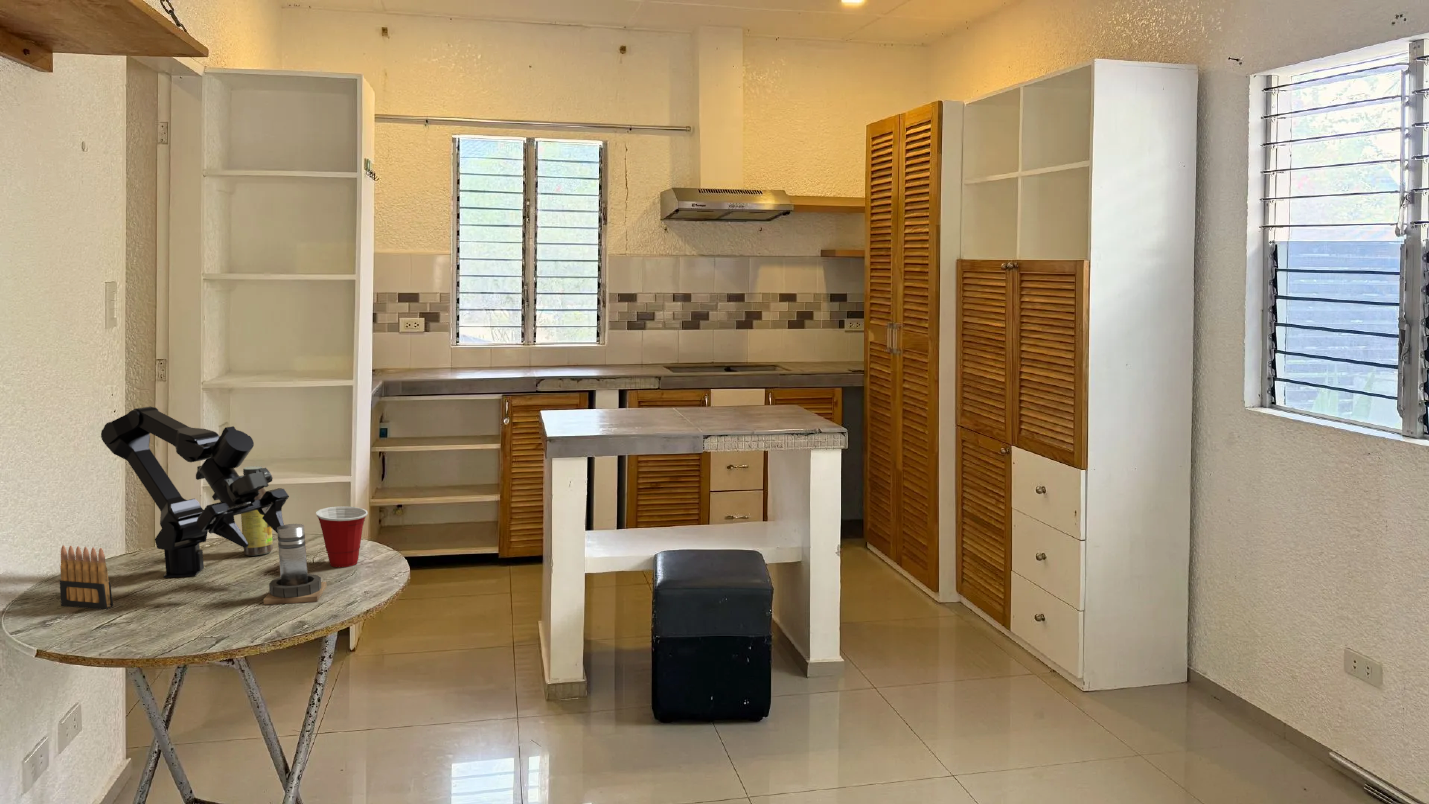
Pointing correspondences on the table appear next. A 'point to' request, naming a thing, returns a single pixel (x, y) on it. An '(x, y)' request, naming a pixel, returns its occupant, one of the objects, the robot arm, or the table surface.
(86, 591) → the ammunition clip
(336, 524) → the plastic cup
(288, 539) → the cylinder
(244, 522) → the sauce bottle
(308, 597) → the collar
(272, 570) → the table surface
